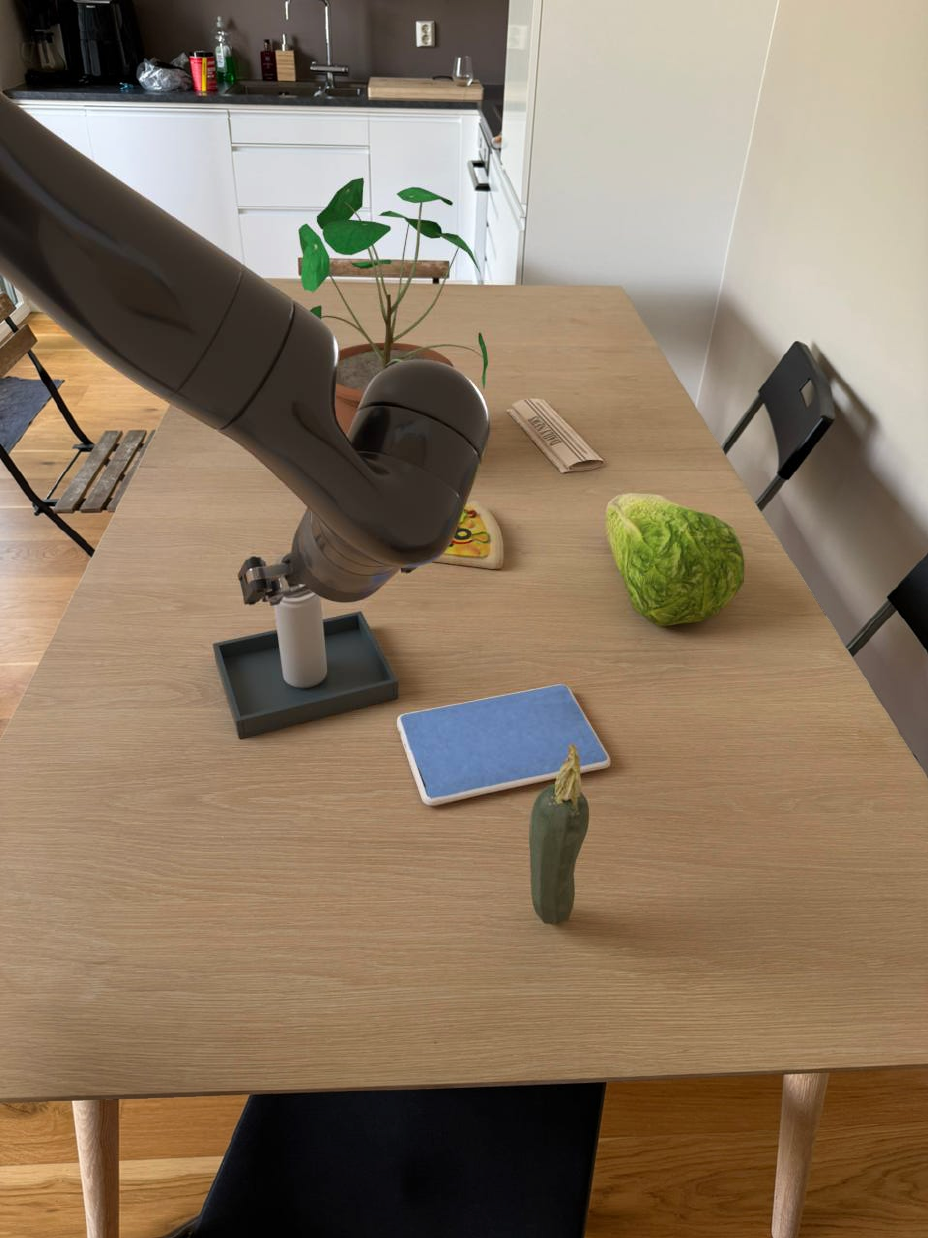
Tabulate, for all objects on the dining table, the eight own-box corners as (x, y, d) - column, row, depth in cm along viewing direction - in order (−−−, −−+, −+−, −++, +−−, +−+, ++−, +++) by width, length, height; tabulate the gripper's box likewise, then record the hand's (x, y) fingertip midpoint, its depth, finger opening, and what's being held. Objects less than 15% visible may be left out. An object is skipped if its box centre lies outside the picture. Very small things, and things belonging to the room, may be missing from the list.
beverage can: (336, 673, 98) (329, 584, 91) (307, 697, 95) (297, 607, 88) (304, 656, 100) (294, 569, 93) (273, 679, 97) (261, 590, 90)
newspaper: (603, 467, 139) (604, 457, 138) (561, 473, 137) (562, 463, 136) (543, 406, 157) (544, 396, 155) (506, 410, 155) (506, 401, 154)
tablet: (424, 811, 84) (424, 802, 83) (394, 721, 93) (394, 711, 92) (612, 771, 89) (614, 762, 88) (565, 689, 98) (566, 680, 97)
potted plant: (518, 473, 137) (538, 195, 113) (336, 506, 128) (316, 211, 103) (445, 395, 159) (449, 149, 135) (286, 418, 150) (259, 158, 126)
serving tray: (239, 739, 91) (235, 721, 89) (215, 660, 100) (212, 643, 99) (398, 698, 96) (398, 681, 95) (362, 627, 106) (361, 610, 104)
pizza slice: (512, 569, 116) (514, 550, 114) (354, 584, 113) (352, 564, 111) (487, 509, 128) (488, 491, 126) (343, 520, 125) (342, 501, 123)
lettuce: (569, 555, 124) (665, 554, 127) (634, 640, 103) (747, 636, 106) (583, 458, 118) (684, 459, 121) (656, 527, 97) (775, 526, 100)
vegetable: (555, 954, 72) (582, 789, 60) (509, 929, 74) (526, 763, 62) (579, 914, 75) (609, 749, 63) (534, 891, 77) (554, 726, 65)
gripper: (435, 471, 64) (388, 527, 80) (237, 504, 60) (227, 557, 75) (461, 571, 64) (408, 608, 79) (263, 612, 59) (247, 643, 74)
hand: (320, 583), depth 77 cm, fingers open, 8 cm apart
